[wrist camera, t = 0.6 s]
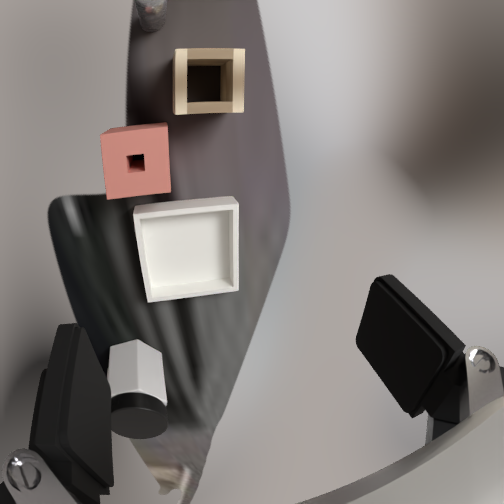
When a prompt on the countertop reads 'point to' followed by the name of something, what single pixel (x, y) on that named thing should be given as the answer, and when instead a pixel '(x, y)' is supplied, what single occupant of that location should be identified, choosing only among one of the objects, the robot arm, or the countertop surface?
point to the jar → (137, 390)
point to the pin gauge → (151, 14)
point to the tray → (188, 247)
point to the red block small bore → (138, 171)
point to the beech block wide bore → (229, 79)
